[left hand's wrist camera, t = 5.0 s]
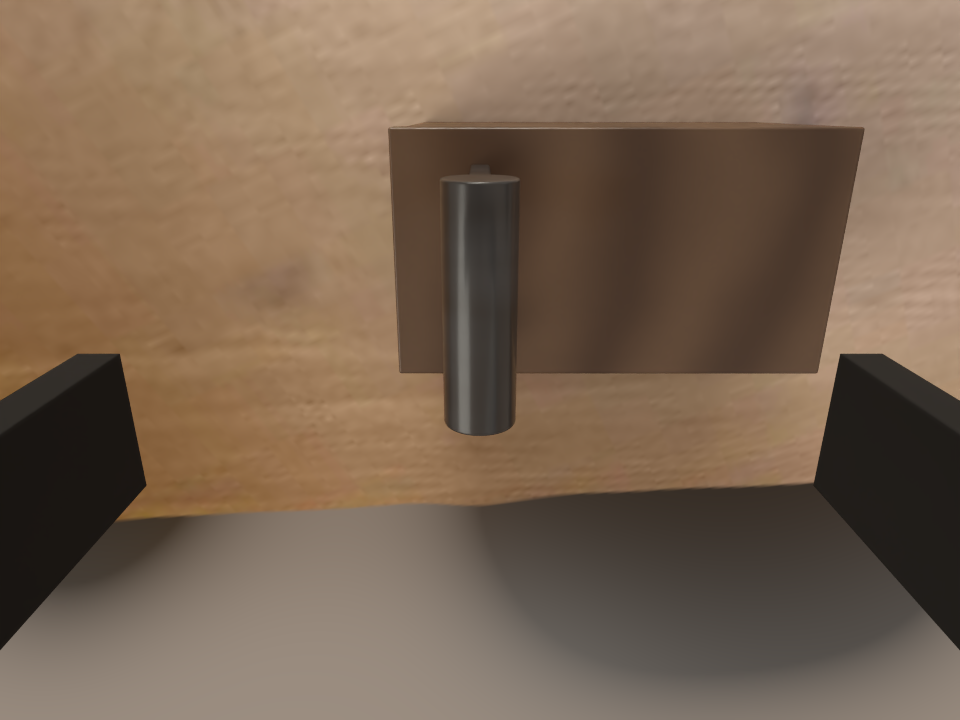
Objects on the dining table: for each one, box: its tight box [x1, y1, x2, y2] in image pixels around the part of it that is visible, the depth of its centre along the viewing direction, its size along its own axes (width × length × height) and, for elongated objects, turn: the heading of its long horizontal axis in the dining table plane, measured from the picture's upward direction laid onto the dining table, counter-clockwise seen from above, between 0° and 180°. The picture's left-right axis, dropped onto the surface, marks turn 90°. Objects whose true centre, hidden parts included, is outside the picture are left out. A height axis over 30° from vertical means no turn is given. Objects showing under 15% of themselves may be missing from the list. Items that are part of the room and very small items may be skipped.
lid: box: [388, 127, 864, 436], centre depth 23 cm, size 17×10×9 cm, turn 90°
